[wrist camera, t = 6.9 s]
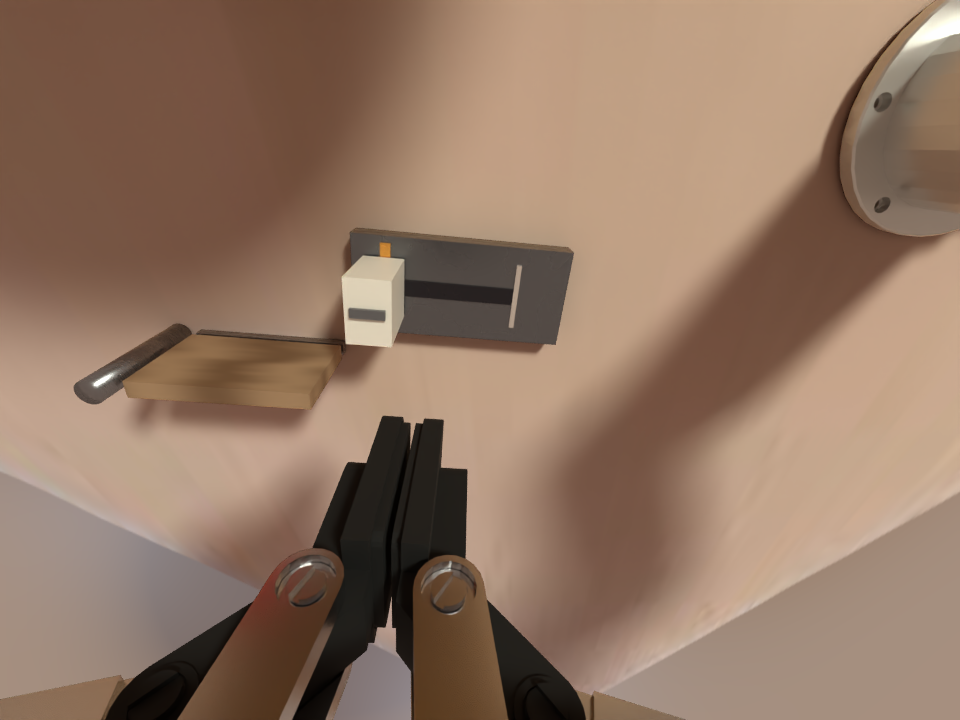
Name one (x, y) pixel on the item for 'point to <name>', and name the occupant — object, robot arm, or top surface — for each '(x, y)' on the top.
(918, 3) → the top surface
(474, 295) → the board
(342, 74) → the top surface
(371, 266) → the fader cap
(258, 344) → the door
